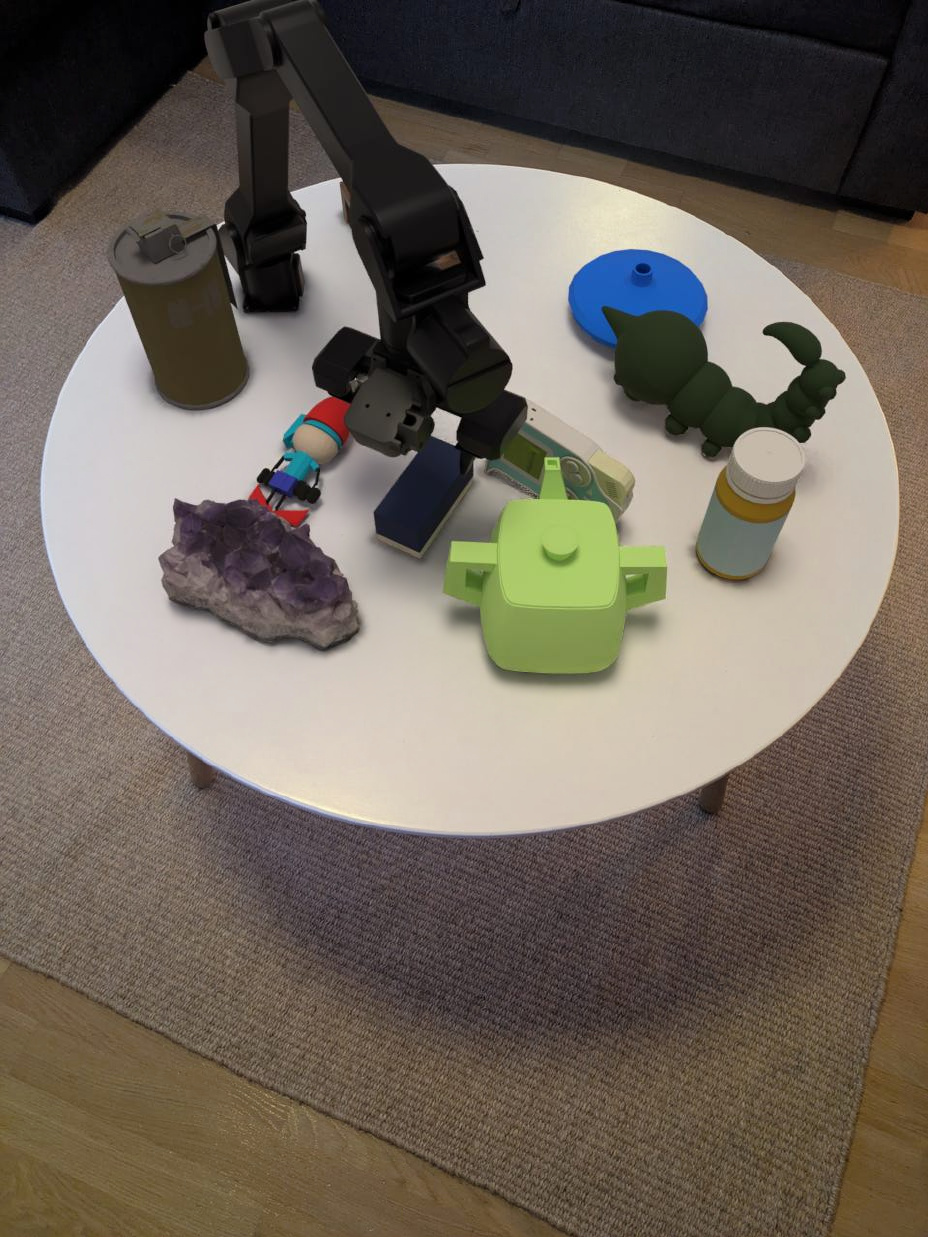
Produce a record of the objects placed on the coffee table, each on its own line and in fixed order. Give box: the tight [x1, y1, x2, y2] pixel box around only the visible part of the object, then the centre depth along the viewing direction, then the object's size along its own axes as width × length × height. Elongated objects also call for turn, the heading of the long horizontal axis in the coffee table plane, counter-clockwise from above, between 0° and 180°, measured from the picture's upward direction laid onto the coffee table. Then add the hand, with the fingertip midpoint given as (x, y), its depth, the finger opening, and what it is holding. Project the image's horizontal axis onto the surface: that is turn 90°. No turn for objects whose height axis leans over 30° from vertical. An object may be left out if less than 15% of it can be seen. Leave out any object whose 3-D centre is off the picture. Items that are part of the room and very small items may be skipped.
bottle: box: [695, 427, 806, 580], centre depth 92 cm, size 7×7×15 cm
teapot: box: [442, 457, 668, 674], centre depth 91 cm, size 18×20×13 cm
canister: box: [106, 208, 250, 410], centre depth 103 cm, size 11×10×20 cm
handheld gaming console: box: [483, 397, 636, 525], centre depth 98 cm, size 11×3×15 cm
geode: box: [157, 497, 360, 651], centre depth 93 cm, size 20×12×10 cm, turn 65°
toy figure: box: [247, 396, 351, 528], centre depth 103 cm, size 8×5×15 cm
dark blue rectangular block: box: [372, 435, 475, 560], centre depth 100 cm, size 11×5×4 cm, turn 151°
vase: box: [567, 248, 709, 350], centre depth 113 cm, size 16×16×7 cm
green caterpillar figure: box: [602, 306, 847, 458], centre depth 100 cm, size 9×19×25 cm
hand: (422, 453), depth 94 cm, fingers open, 9 cm apart
